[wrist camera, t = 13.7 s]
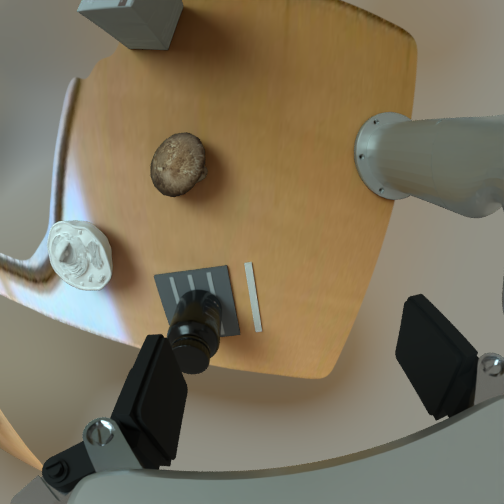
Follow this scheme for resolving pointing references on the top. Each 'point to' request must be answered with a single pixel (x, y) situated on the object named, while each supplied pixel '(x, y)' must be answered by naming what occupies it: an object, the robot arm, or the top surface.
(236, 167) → the top surface
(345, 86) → the top surface
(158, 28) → the skincare box
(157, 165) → the mushroom
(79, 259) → the cell model
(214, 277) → the mat
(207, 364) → the supplement bottle
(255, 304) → the strip
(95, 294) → the top surface
